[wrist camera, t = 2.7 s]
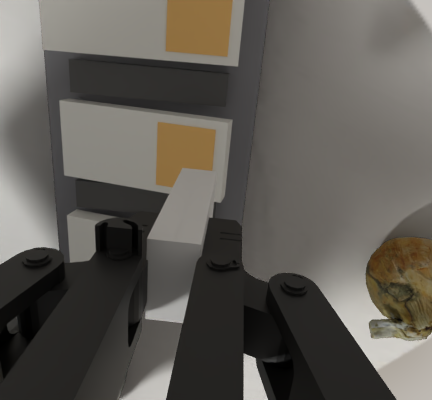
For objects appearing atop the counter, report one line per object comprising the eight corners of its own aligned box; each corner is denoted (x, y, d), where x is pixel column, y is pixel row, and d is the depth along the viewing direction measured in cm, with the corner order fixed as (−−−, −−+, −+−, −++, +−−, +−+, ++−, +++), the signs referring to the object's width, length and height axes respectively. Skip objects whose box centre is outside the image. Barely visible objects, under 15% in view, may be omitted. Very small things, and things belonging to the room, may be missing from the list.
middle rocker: (224, 196, 25) (220, 203, 24) (74, 170, 27) (63, 175, 26) (232, 119, 23) (228, 122, 22) (70, 98, 25) (58, 100, 24)
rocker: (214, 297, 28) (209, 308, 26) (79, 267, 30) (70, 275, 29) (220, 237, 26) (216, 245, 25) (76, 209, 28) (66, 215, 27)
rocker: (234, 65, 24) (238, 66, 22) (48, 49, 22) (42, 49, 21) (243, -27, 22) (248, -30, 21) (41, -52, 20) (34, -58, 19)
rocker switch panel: (232, 285, 34) (231, 314, 30) (76, 269, 34) (57, 296, 30) (274, -59, 24) (280, -80, 20) (56, -79, 24) (23, -102, 20)
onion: (420, 311, 34) (472, 385, 26) (338, 283, 33) (367, 350, 26) (470, 240, 31) (543, 301, 23) (381, 208, 30) (427, 260, 23)
